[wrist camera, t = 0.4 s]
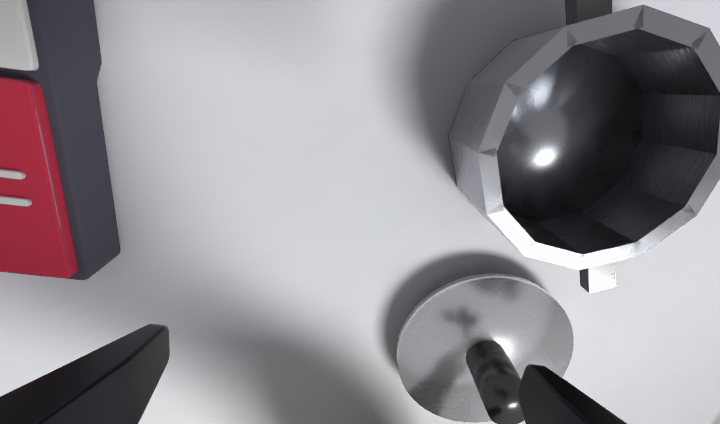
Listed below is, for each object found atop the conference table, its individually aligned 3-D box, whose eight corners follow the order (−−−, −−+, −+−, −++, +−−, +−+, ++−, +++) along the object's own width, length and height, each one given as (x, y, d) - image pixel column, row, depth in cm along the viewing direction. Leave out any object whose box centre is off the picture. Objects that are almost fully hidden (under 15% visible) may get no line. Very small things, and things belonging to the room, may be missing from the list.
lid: (563, 383, 27) (617, 458, 21) (412, 414, 28) (427, 496, 22) (552, 247, 23) (614, 297, 18) (378, 288, 24) (385, 348, 18)
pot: (646, 232, 23) (723, 271, 18) (471, 273, 23) (502, 320, 19) (650, -41, 18) (758, -87, 13) (428, 21, 18) (455, -2, 14)
